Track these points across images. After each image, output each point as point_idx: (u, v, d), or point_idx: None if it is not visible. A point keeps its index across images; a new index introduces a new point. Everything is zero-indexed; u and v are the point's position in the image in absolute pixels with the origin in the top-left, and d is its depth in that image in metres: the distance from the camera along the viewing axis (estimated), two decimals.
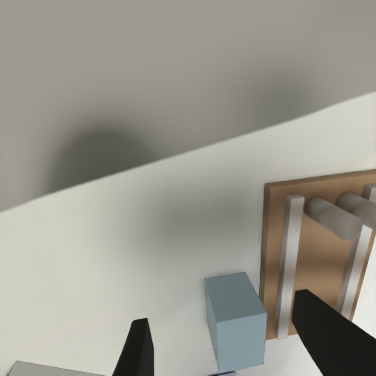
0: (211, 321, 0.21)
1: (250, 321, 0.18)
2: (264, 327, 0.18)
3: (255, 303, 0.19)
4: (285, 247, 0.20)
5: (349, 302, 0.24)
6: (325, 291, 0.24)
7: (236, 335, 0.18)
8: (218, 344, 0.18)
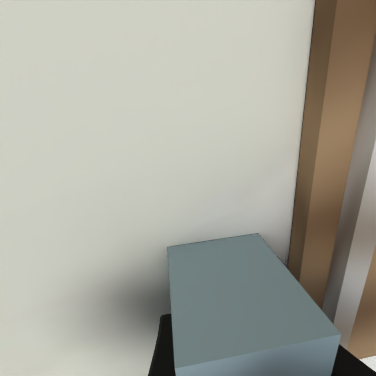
0: None
1: (287, 360, 0.06)
2: (327, 374, 0.06)
3: (296, 304, 0.06)
4: (367, 155, 0.08)
5: None
6: None
7: None
8: None
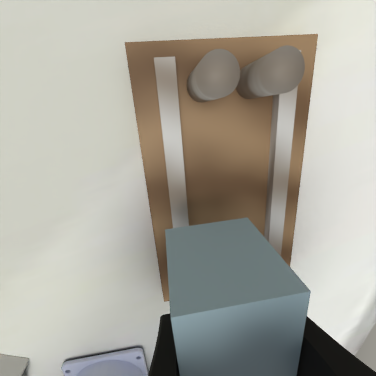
0: None
1: (266, 313, 0.07)
2: (301, 329, 0.07)
3: (276, 271, 0.07)
4: (164, 148, 0.14)
5: (276, 246, 0.17)
6: None
7: (227, 350, 0.07)
8: (182, 374, 0.07)
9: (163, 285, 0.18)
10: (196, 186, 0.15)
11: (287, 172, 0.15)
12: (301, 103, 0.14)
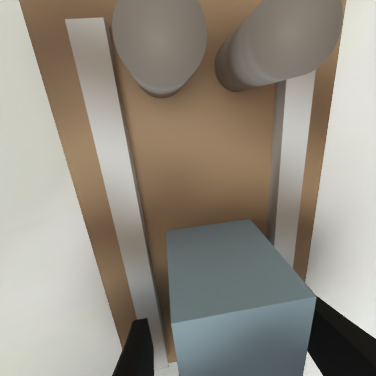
0: None
1: (270, 319, 0.06)
2: (306, 335, 0.07)
3: (280, 275, 0.07)
4: None
5: None
6: None
7: (230, 357, 0.07)
8: None
9: None
10: (162, 223, 0.10)
11: (297, 202, 0.10)
12: (319, 98, 0.09)
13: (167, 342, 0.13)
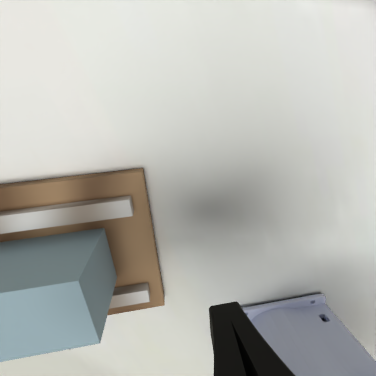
0: None
1: None
2: None
3: None
4: None
5: (69, 214, 0.13)
6: None
7: None
8: (20, 356, 0.11)
9: (142, 307, 0.18)
10: None
11: None
12: None
13: (135, 283, 0.17)
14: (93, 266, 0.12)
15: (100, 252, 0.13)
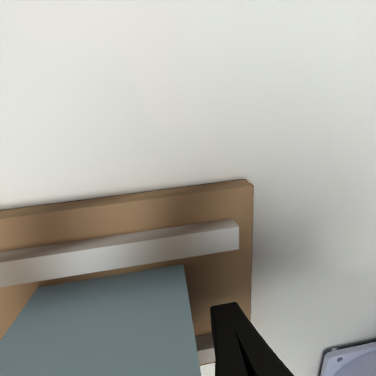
0: None
1: None
2: None
3: None
4: None
5: (153, 249, 0.09)
6: None
7: None
8: None
9: None
10: None
11: None
12: None
13: None
14: None
15: None
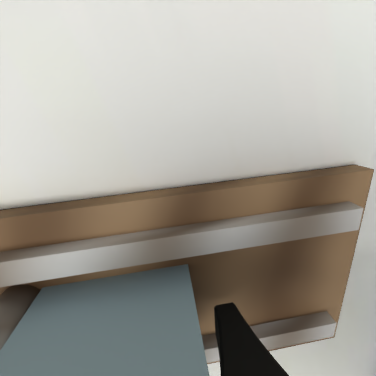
0: None
1: None
2: None
3: None
4: None
5: (285, 228, 0.10)
6: (248, 265, 0.11)
7: None
8: None
9: None
10: None
11: (144, 243, 0.09)
12: (30, 228, 0.09)
13: (311, 313, 0.13)
14: None
15: None
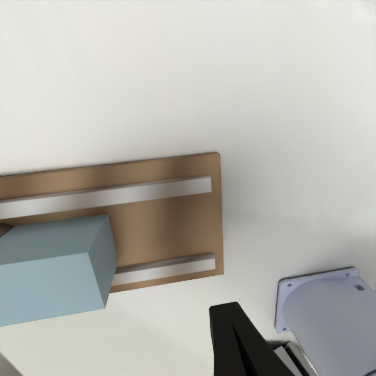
0: None
1: None
2: None
3: None
4: None
5: (161, 189, 0.16)
6: (148, 216, 0.17)
7: (15, 302, 0.13)
8: (38, 318, 0.13)
9: (205, 275, 0.20)
10: None
11: (73, 196, 0.15)
12: (6, 186, 0.15)
13: (201, 253, 0.19)
14: (99, 244, 0.14)
15: (104, 234, 0.15)
